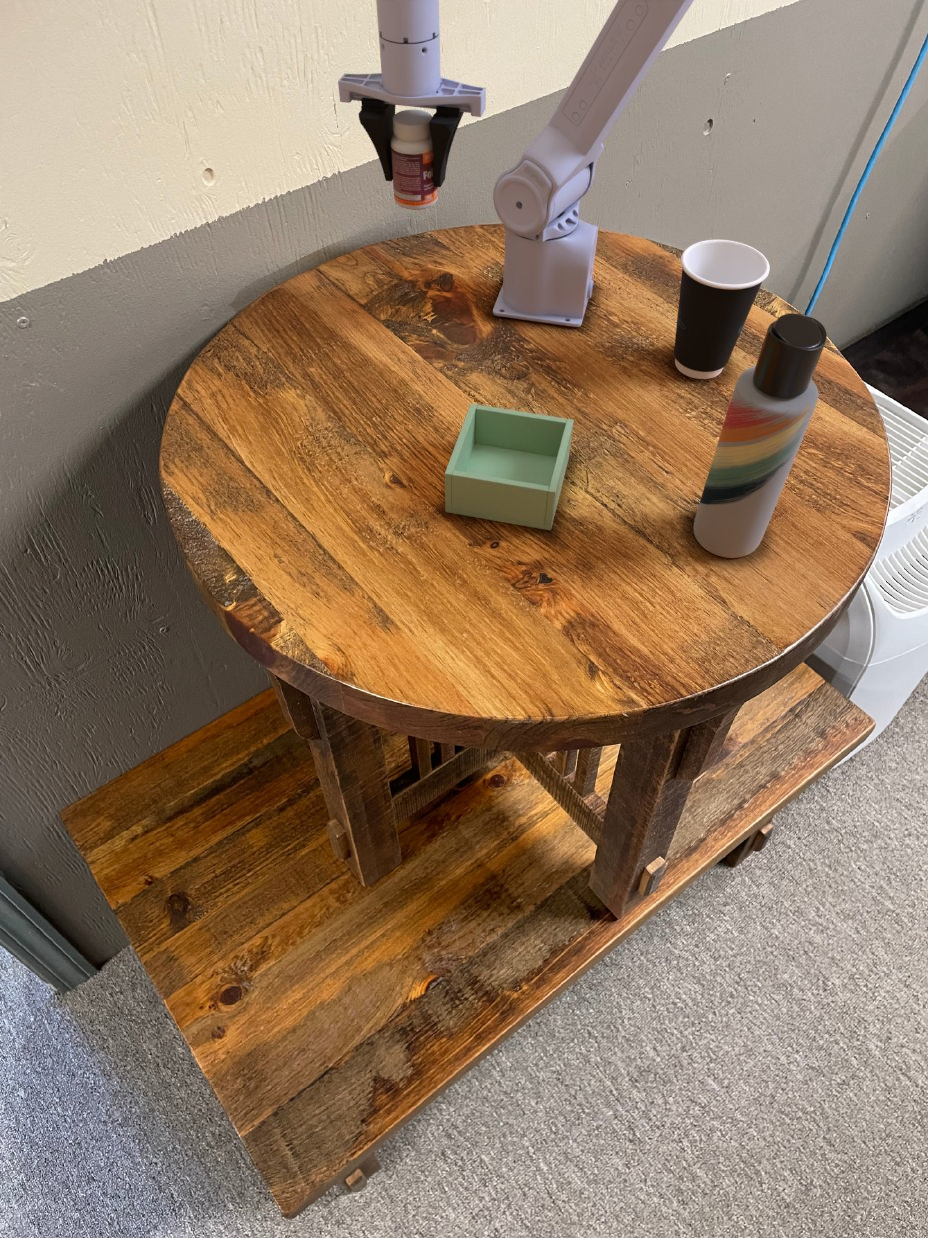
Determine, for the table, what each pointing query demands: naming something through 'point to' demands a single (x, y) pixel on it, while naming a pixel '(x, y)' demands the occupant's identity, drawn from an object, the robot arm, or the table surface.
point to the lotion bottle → (760, 438)
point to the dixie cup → (714, 303)
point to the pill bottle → (413, 160)
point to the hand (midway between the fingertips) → (415, 179)
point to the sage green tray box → (508, 466)
